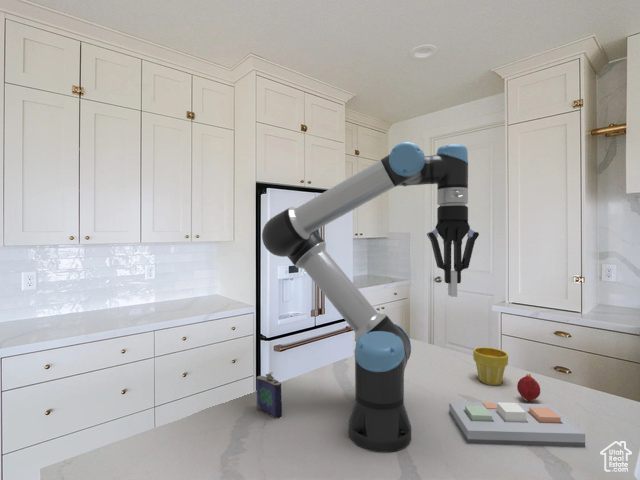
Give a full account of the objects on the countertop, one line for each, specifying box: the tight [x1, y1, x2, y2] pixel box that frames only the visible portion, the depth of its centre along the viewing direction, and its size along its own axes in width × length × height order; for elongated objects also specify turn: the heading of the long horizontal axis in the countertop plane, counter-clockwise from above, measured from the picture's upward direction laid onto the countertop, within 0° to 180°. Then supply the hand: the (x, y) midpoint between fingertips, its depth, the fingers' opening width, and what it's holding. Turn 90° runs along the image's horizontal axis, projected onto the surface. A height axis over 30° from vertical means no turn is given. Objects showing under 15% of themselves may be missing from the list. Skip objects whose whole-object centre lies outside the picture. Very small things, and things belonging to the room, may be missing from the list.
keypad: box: [448, 401, 586, 448], centre depth 87 cm, size 26×14×3 cm, turn 87°
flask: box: [255, 372, 283, 419], centre depth 96 cm, size 9×3×11 cm, turn 50°
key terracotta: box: [529, 407, 561, 424], centre depth 86 cm, size 5×5×3 cm
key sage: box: [465, 406, 492, 422], centre depth 87 cm, size 5×5×3 cm
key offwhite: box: [496, 402, 526, 423], centre depth 87 cm, size 5×5×3 cm
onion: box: [516, 372, 541, 402], centre depth 101 cm, size 6×6×8 cm
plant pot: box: [472, 346, 509, 386], centre depth 115 cm, size 10×10×10 cm
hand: (452, 295), depth 91 cm, fingers closed
